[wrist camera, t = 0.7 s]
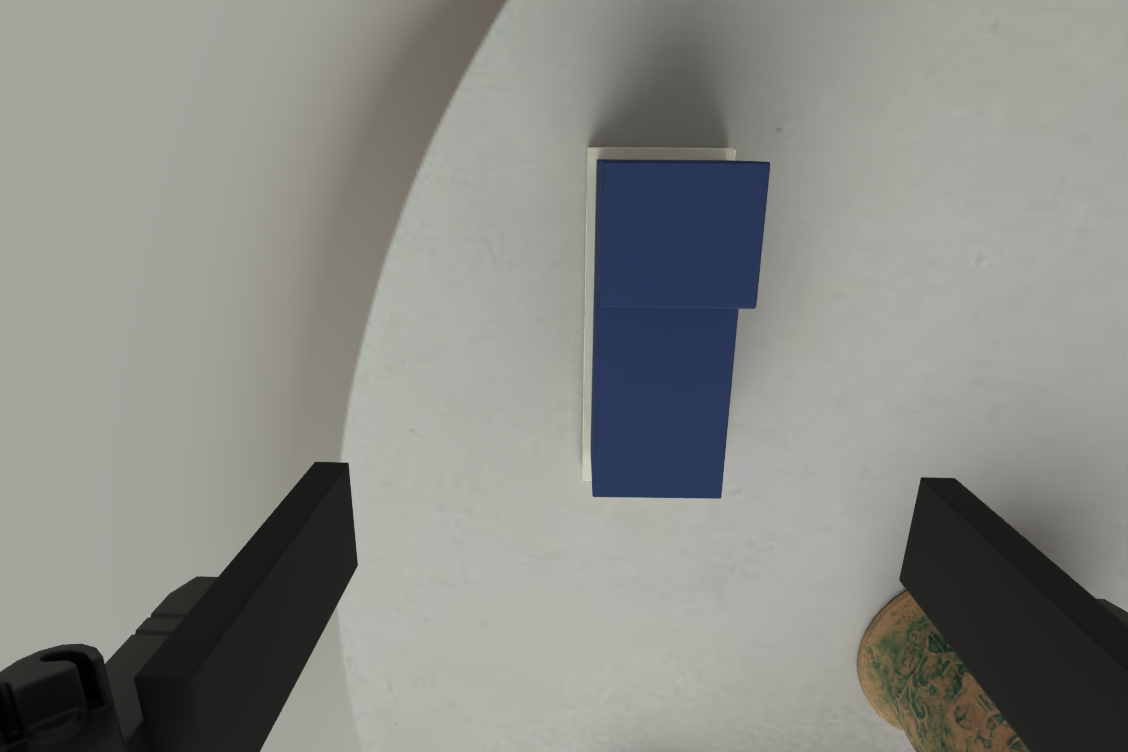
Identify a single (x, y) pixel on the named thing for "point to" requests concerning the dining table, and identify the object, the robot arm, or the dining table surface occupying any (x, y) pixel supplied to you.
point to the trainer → (665, 313)
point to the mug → (927, 686)
